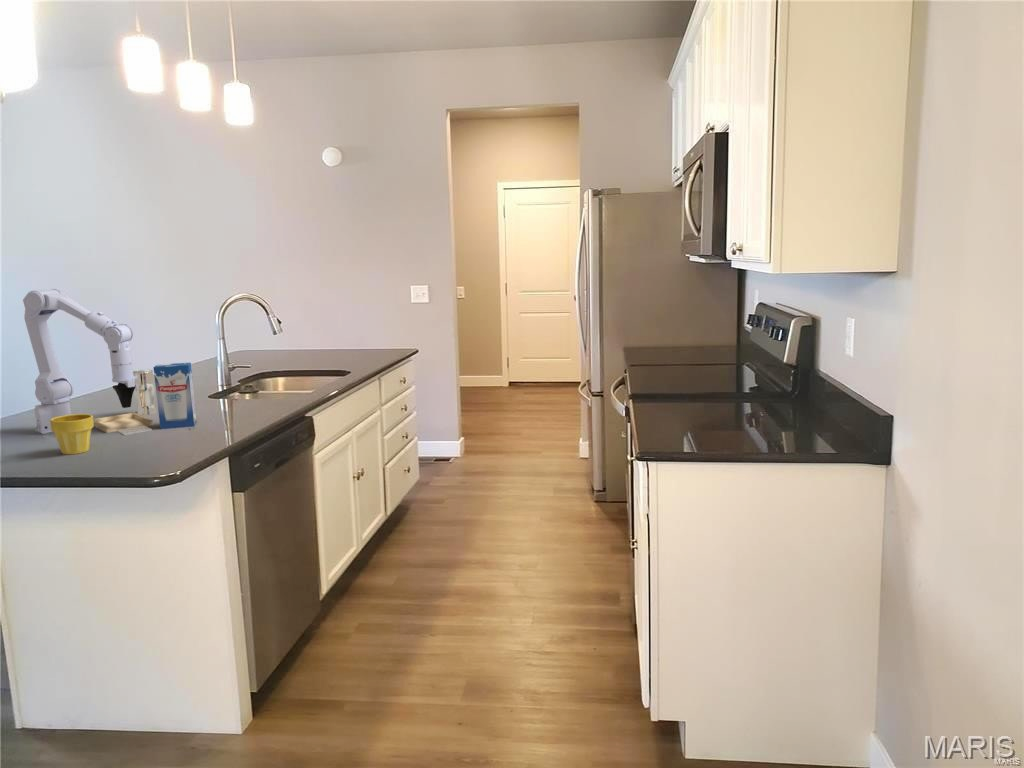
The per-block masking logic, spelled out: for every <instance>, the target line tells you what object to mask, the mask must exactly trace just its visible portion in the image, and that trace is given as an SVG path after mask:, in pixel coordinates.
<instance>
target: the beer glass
mask: <svg viewBox="0 0 1024 768" xmlns="http://www.w3.org/2000/svg"><path fill="white" fill-rule="evenodd" d="M133 376H137V377H138V379H135V380H134V381H135V385H136V387H135V389H134V392H133V395H134V397H135V401H136V404H137V411H136V413H137V414H139V415H142V416H144V415H146V416H147V415H152V414H156V413H157V409H156V406H155V394H156V386H155V377H154V369H140V370H135V371H134V370H133Z"/></svg>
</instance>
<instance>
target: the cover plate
mask: <svg viewBox="0 0 1024 768" xmlns="http://www.w3.org/2000/svg"><path fill="white" fill-rule="evenodd" d="M150 431H152V428H151V427H149V426H139V427H133V428H127V429H121V430H117V431H116V432H118V433H119V434H121V435H124V436H126V435H133V434H139V433H144V432H150Z"/></svg>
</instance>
